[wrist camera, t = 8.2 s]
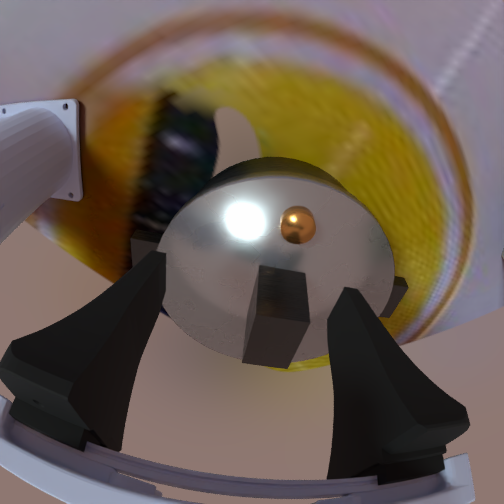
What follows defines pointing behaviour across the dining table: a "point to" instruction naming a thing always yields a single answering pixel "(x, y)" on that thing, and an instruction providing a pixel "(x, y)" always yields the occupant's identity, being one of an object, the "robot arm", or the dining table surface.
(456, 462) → the robot arm
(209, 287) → the cooker lid
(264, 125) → the dining table surface
